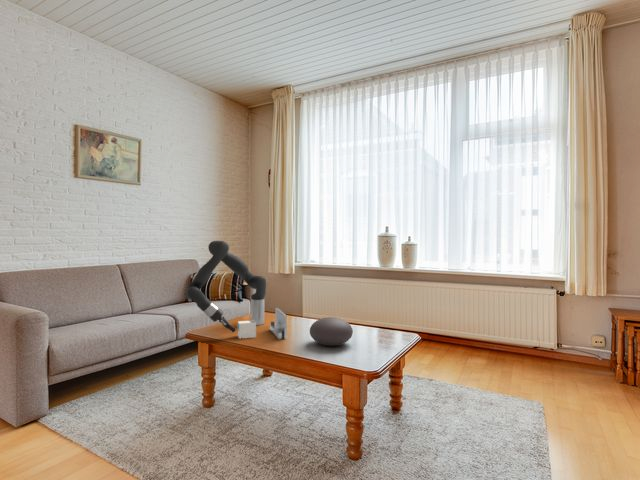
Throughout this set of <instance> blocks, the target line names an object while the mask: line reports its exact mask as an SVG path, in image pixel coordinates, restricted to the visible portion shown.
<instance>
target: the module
mask: <svg viewBox="0 0 640 480" xmlns="http://www.w3.org/2000/svg"><path fill="white" fill-rule="evenodd" d="M236 329H237V338H238V339H239V340H242V339H249V338H250V339H252V338H257V325H256V321H255V320H251V319H250V320H240V321H237V324H236ZM241 338H242V339H241Z"/></svg>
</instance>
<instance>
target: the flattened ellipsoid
mask: <svg viewBox="0 0 640 480" xmlns="http://www.w3.org/2000/svg"><path fill="white" fill-rule="evenodd" d="M353 331H354V330H353V328H352V325H351V324H350V323H349V322H348V321H347V320H345V319H342V318H340V317H333V316H329V317H327V316H326V317H322V318H319V319H317V320H316V321H314V322H313V323H312V324H311V326H310V327H309V335H310V337H311V338H312V340H314V341H315V342H316V343H318V344H321V345H324V346H329V347H330V346H331V347H333V346H335V347H336V346H340V345H342V344H345V343H347V342H349V340H351V339H352V337H353V333H354V332H353Z"/></svg>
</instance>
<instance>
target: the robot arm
mask: <svg viewBox="0 0 640 480" xmlns="http://www.w3.org/2000/svg"><path fill="white" fill-rule="evenodd" d="M229 250H230V246H229V244H228V243H227V241H224V240H213V241H211V242H210V243H209V244H208V252H209V253H210V254H211V255H212V257H211V258H210V259H209V260H208V261H207V262H205V264H203V265H202V266H201V267H200V268H199V269H198V271H197V272H196V275H195V276H194V277H193V279H192V281H191V282H190V283H189V285H188V286H187V288H186V289H185V291H184V297H185V298H186V299H187V300H192V301H193V302H194V303H196V306H197V307H198V308H199V309H200V310H201V312H203V313H204V314H205V315H206V316H207V317H208V318H209V319H210V320H212V322H217V321H218V323H219V324H220V325H222V326H223V327H225V329H227V330H229V331H230V332H232V333H234V332H235V331H236V328H235V327H234V326H232V324H231V323H230V322H229V320H227V318H226V317H225V316H224V315H223V314H224V311H223V310H222V309H220V308H219V306H217V305H216V304H215V303H213V302H212V301H211V300H210V299H209V298H208V297H207V296H206V295H205V294H204V292H202V290H201V289H202V287H203V286H205V284H206V283H207V281H208V280H209V278H210V276H211V274H212V273H213V272H214V270H215V269H216V267H218V265H219V264H220V263H221V262H222V263H223V264H224V265H226V266H227V267H228V268H229V269H230V270H231V271H232V272H233V273H234V274H236V275H237V276H239V278H241V279H242V280H243V281H244V282H245V283H246V284H247V285H248V286H249V288H251V289H253V290H255V293H253V294H251V296H250V320H255V321H256V326H260V325H264V324H265V295H266V292H267V291H266V290H267V279H266V277H265V276H263V275H255V274H254V273H252V272H251V271H250V270H249V267H248V265H247V262H245V261H244V260H243V259H242V258H240V257H239V256H237V255H234V254H233V253H230V252H229Z"/></svg>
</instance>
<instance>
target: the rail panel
mask: <svg viewBox="0 0 640 480" xmlns="http://www.w3.org/2000/svg"><path fill="white" fill-rule="evenodd" d="M274 312H275V314H274V315H275V318H274V319H275V320H273V321H270V324H269V327H270V328H269V329H270V331H271V333H273V335H274V336H275V337H276V338H277V339H278V340H282V339H284V340H287V335H288V334H287V331H288V330H287V327H288V326H287V324H288V322H287V318H288V317H287V314H285V313H284V312H283V310H281V309H279V308H278V307H275V311H274Z"/></svg>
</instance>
